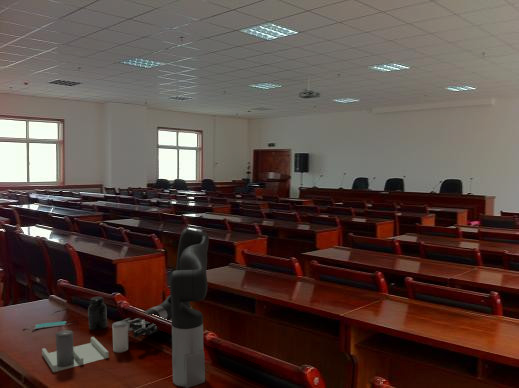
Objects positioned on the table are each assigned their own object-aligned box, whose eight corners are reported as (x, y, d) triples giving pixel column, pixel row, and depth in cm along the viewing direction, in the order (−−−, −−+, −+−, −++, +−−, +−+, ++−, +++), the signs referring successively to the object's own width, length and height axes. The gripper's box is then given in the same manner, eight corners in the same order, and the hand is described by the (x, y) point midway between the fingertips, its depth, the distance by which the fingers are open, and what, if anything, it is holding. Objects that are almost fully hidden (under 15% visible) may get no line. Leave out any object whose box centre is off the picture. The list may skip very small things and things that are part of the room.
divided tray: (108, 360, 149) (108, 351, 149) (53, 375, 139) (53, 365, 139) (93, 344, 162) (93, 336, 162) (42, 357, 152) (41, 348, 152)
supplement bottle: (101, 323, 183) (100, 294, 182) (110, 327, 179) (109, 297, 178) (85, 328, 178) (84, 298, 177) (94, 332, 174) (93, 301, 173)
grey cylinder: (75, 364, 144) (74, 333, 144) (59, 368, 141) (57, 337, 141) (71, 358, 148) (70, 329, 148) (55, 362, 145) (54, 332, 145)
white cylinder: (130, 352, 155) (129, 324, 154) (116, 356, 152) (115, 327, 151) (125, 347, 159) (124, 320, 158) (111, 351, 156) (110, 323, 155)
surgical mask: (71, 307, 192) (81, 312, 185) (71, 317, 192) (82, 322, 185) (19, 320, 177) (28, 326, 170) (19, 330, 177) (29, 337, 170)
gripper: (137, 306, 174) (108, 319, 160) (168, 310, 169) (141, 325, 154) (137, 325, 175) (108, 340, 160) (168, 330, 169) (141, 346, 155)
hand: (124, 333), depth 157 cm, fingers open, 8 cm apart
